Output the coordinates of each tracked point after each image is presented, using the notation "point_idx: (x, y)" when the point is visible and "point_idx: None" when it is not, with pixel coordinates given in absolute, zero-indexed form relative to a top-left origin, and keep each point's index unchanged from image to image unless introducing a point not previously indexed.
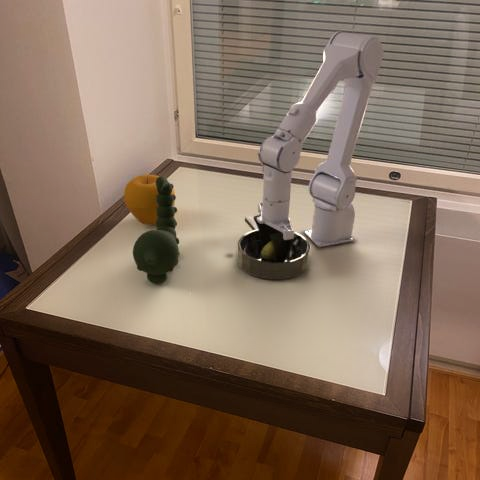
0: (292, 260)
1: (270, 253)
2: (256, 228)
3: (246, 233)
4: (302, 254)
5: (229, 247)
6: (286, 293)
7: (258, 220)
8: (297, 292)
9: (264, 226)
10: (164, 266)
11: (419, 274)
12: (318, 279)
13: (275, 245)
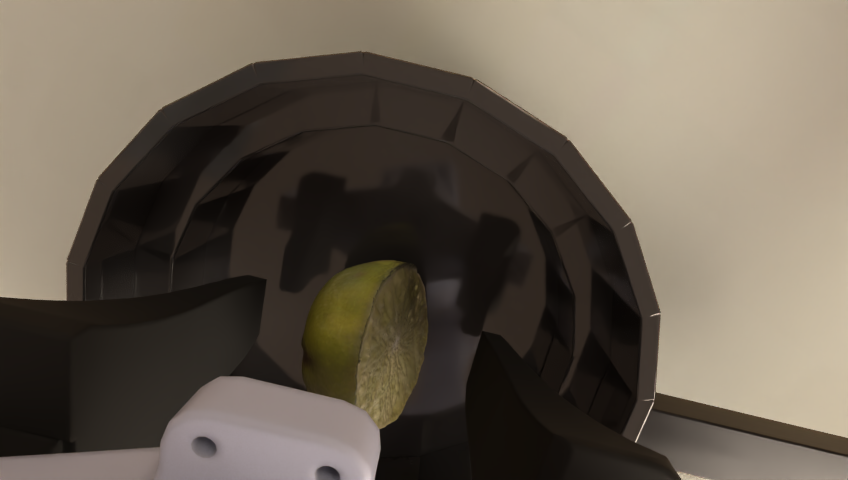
0: None
1: (317, 295)
2: (671, 427)
3: (652, 308)
4: None
5: (708, 184)
6: (50, 161)
7: (259, 407)
8: (39, 219)
9: (507, 461)
10: None
11: None
12: None
13: (66, 301)
